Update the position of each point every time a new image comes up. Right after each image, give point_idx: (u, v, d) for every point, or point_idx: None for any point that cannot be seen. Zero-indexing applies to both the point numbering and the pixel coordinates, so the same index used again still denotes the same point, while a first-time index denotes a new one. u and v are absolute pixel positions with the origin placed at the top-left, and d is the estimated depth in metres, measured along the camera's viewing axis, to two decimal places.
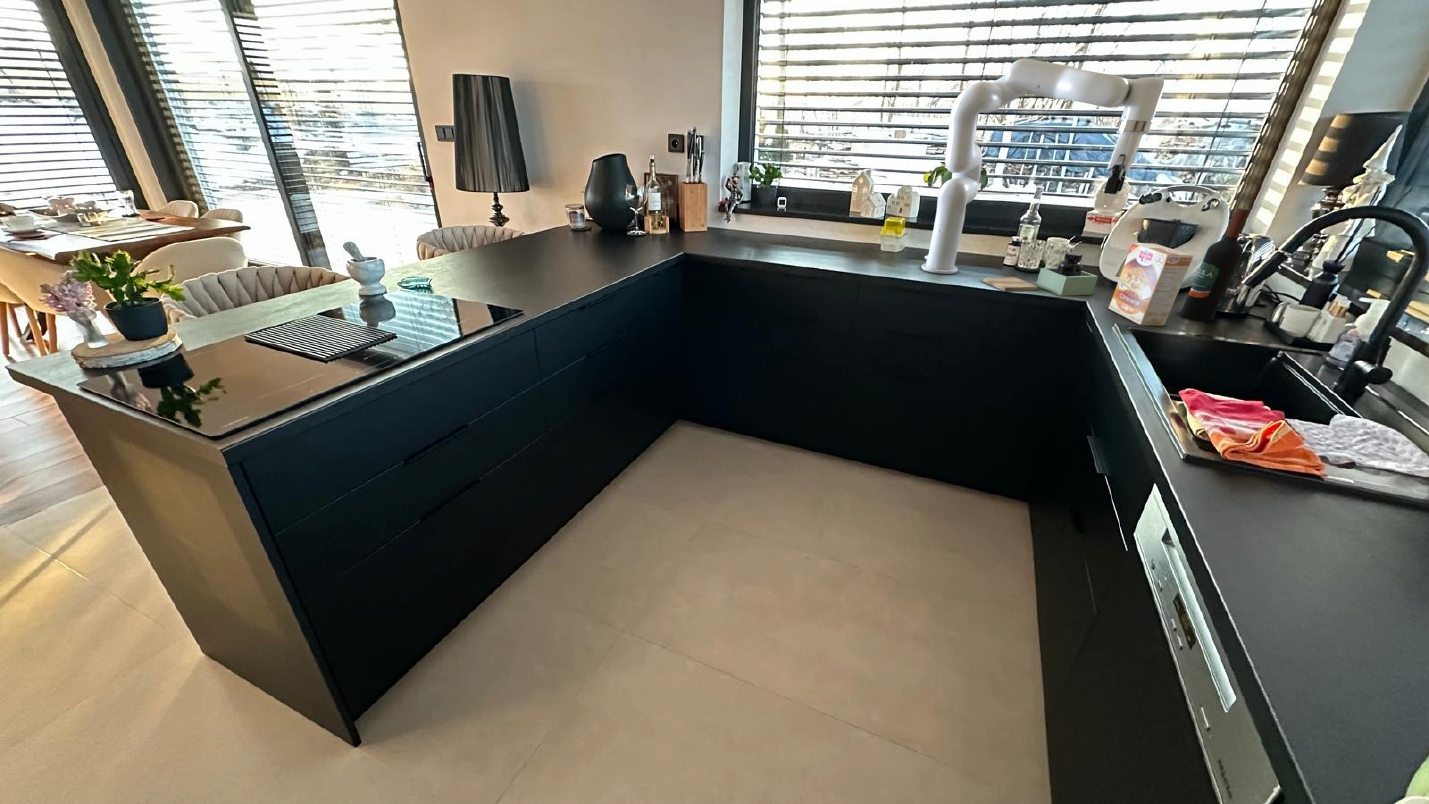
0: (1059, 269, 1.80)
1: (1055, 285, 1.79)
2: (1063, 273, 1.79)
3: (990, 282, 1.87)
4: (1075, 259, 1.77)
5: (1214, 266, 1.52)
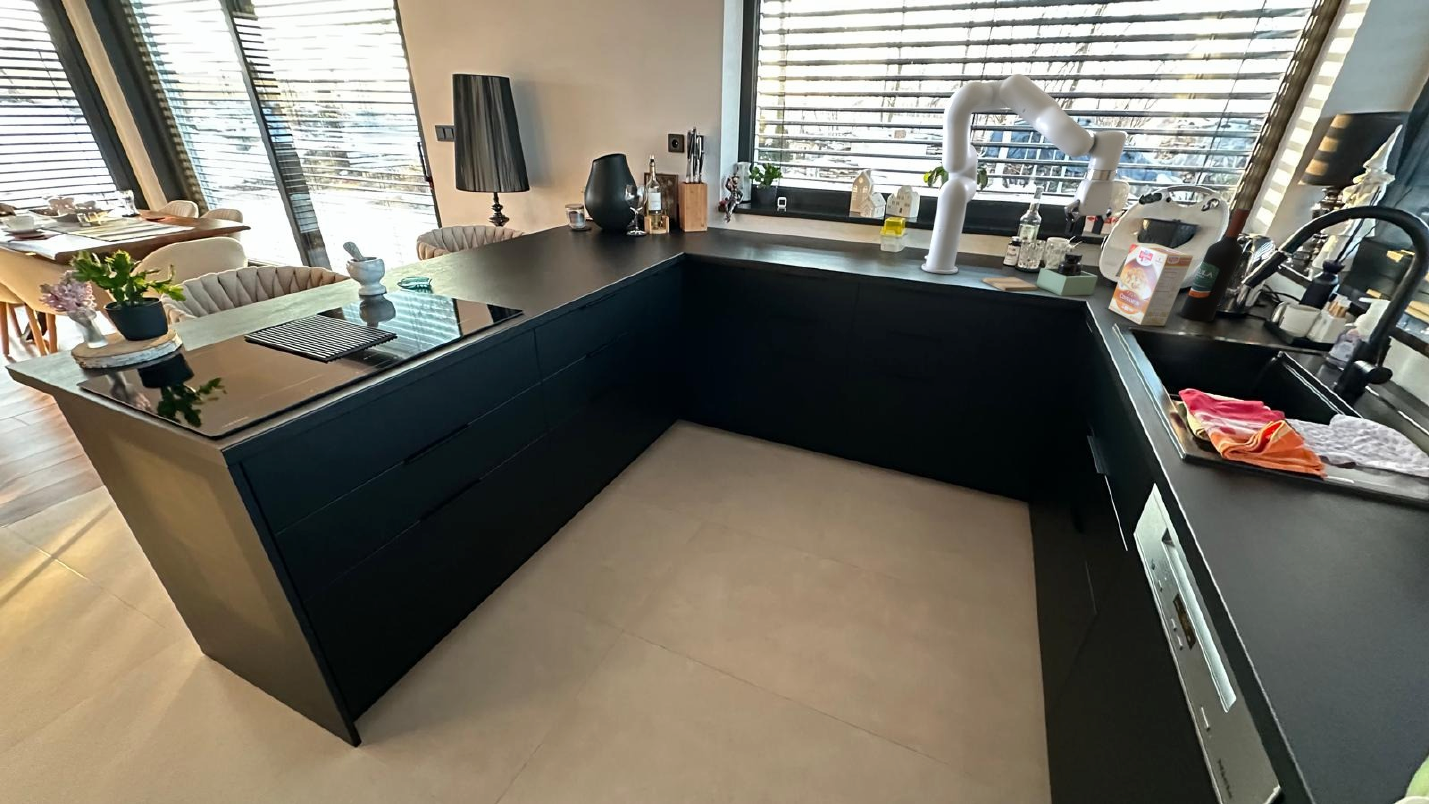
0: (1059, 269, 1.80)
1: (1055, 285, 1.79)
2: (1063, 273, 1.79)
3: (990, 282, 1.87)
4: (1075, 259, 1.77)
5: (1214, 266, 1.52)
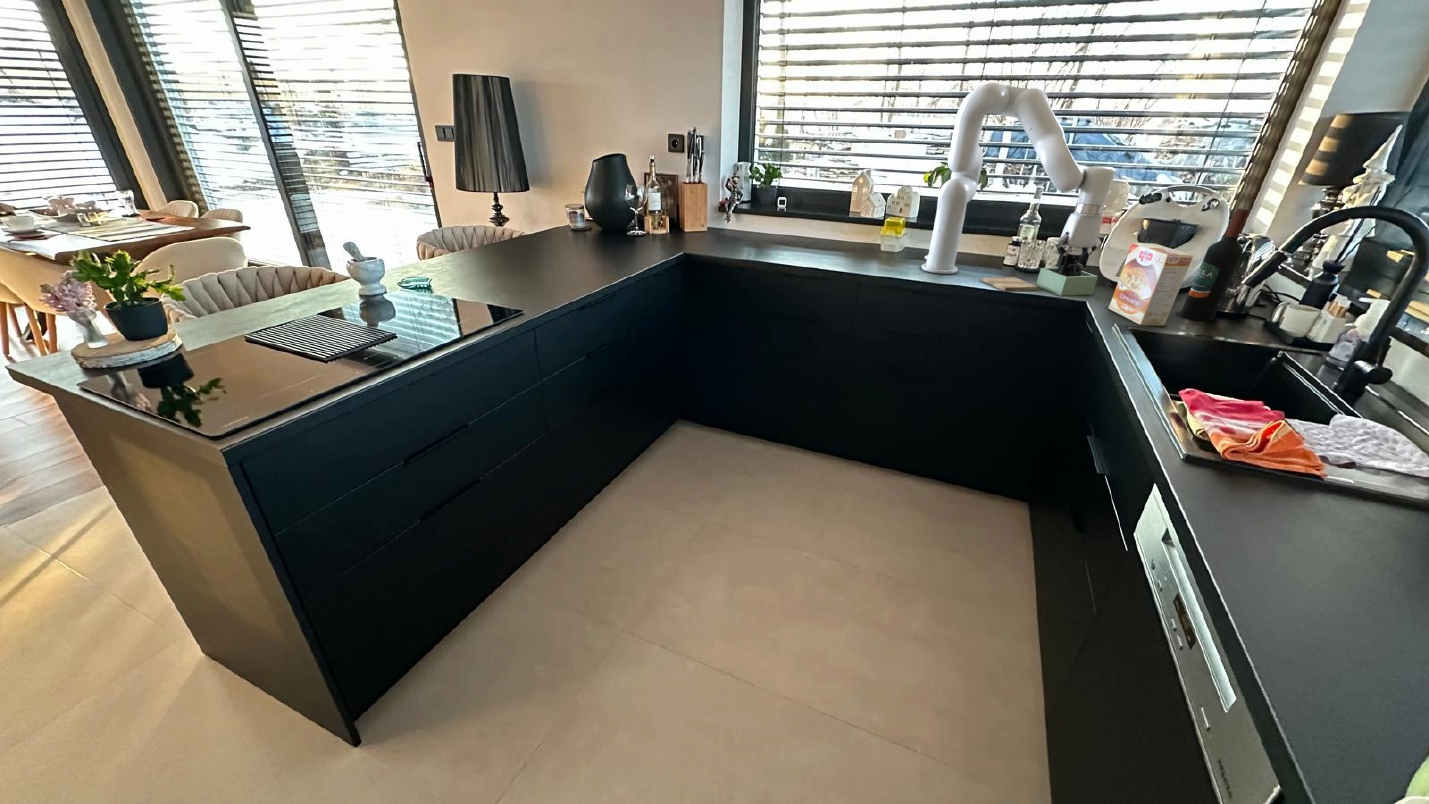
0: (1059, 269, 1.80)
1: (1055, 285, 1.79)
2: (1063, 273, 1.79)
3: (990, 282, 1.87)
4: (1076, 259, 1.77)
5: (1214, 266, 1.52)
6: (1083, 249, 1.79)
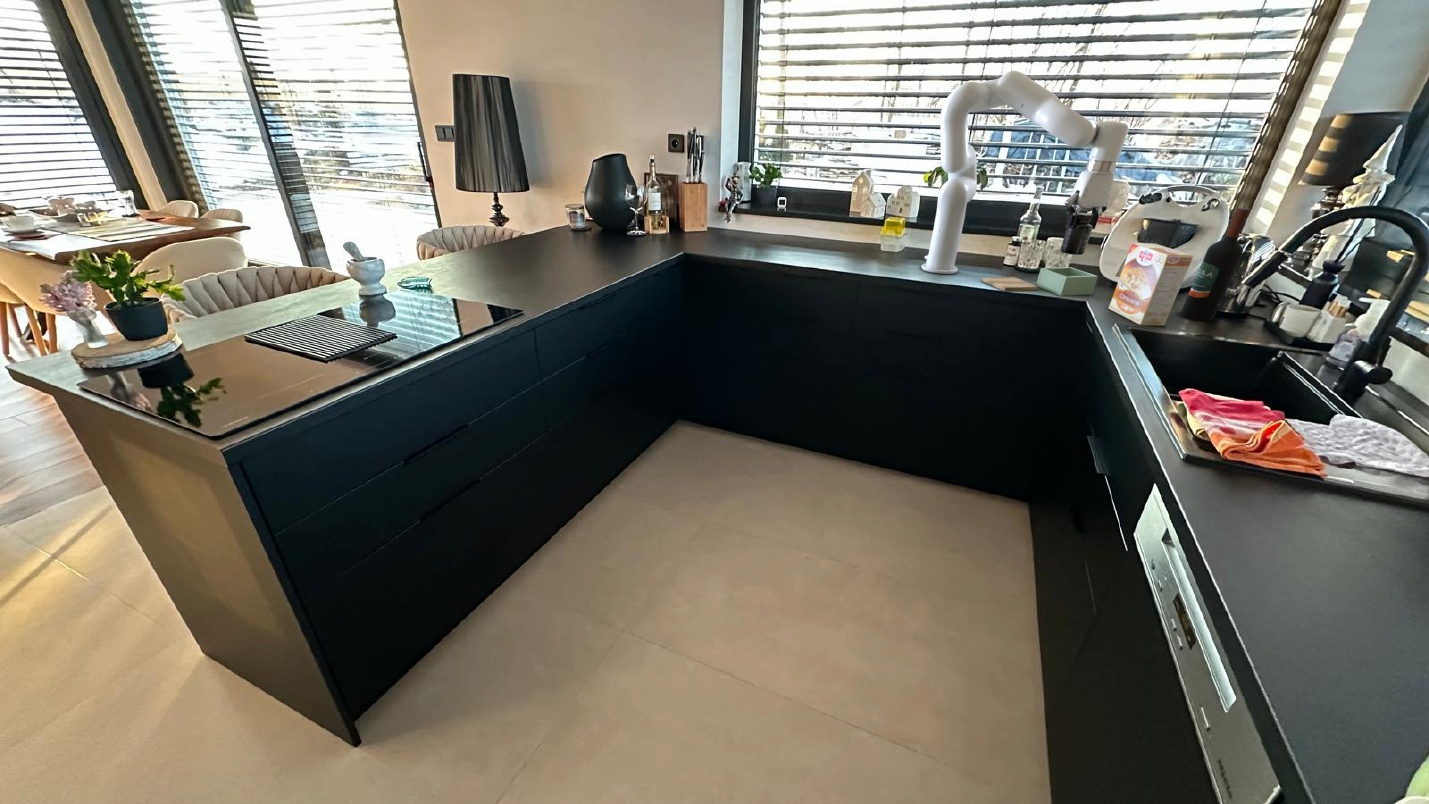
0: (1068, 230, 1.75)
1: (1055, 285, 1.79)
2: (1072, 234, 1.74)
3: (990, 282, 1.87)
4: (1085, 220, 1.71)
5: (1214, 266, 1.52)
6: (1093, 210, 1.74)
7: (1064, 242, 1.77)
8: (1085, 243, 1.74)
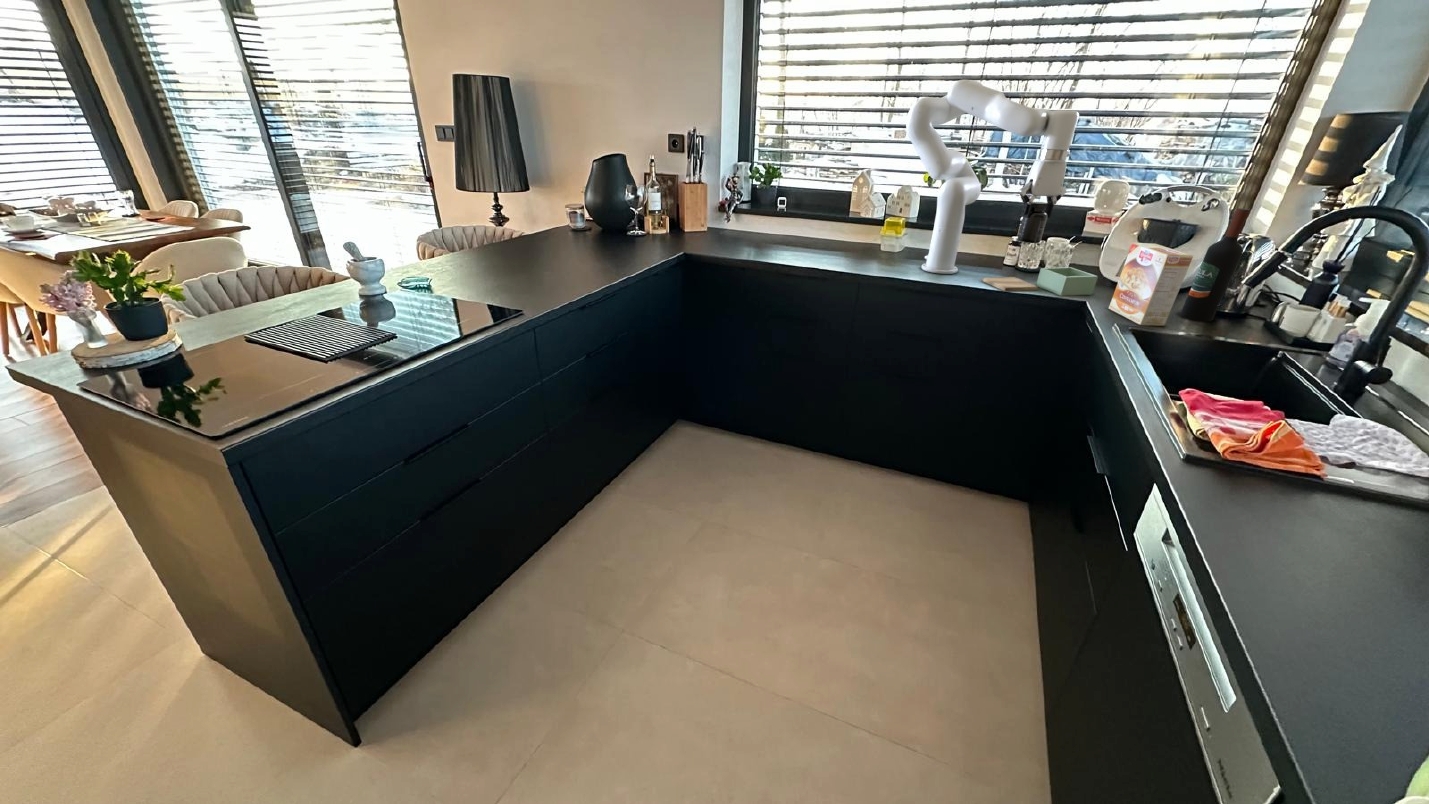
0: (1024, 219, 1.77)
1: (1055, 285, 1.79)
2: (1028, 223, 1.76)
3: (990, 282, 1.87)
4: (1040, 208, 1.73)
5: (1214, 266, 1.52)
6: (1048, 198, 1.75)
7: (1020, 231, 1.78)
8: (1041, 231, 1.76)
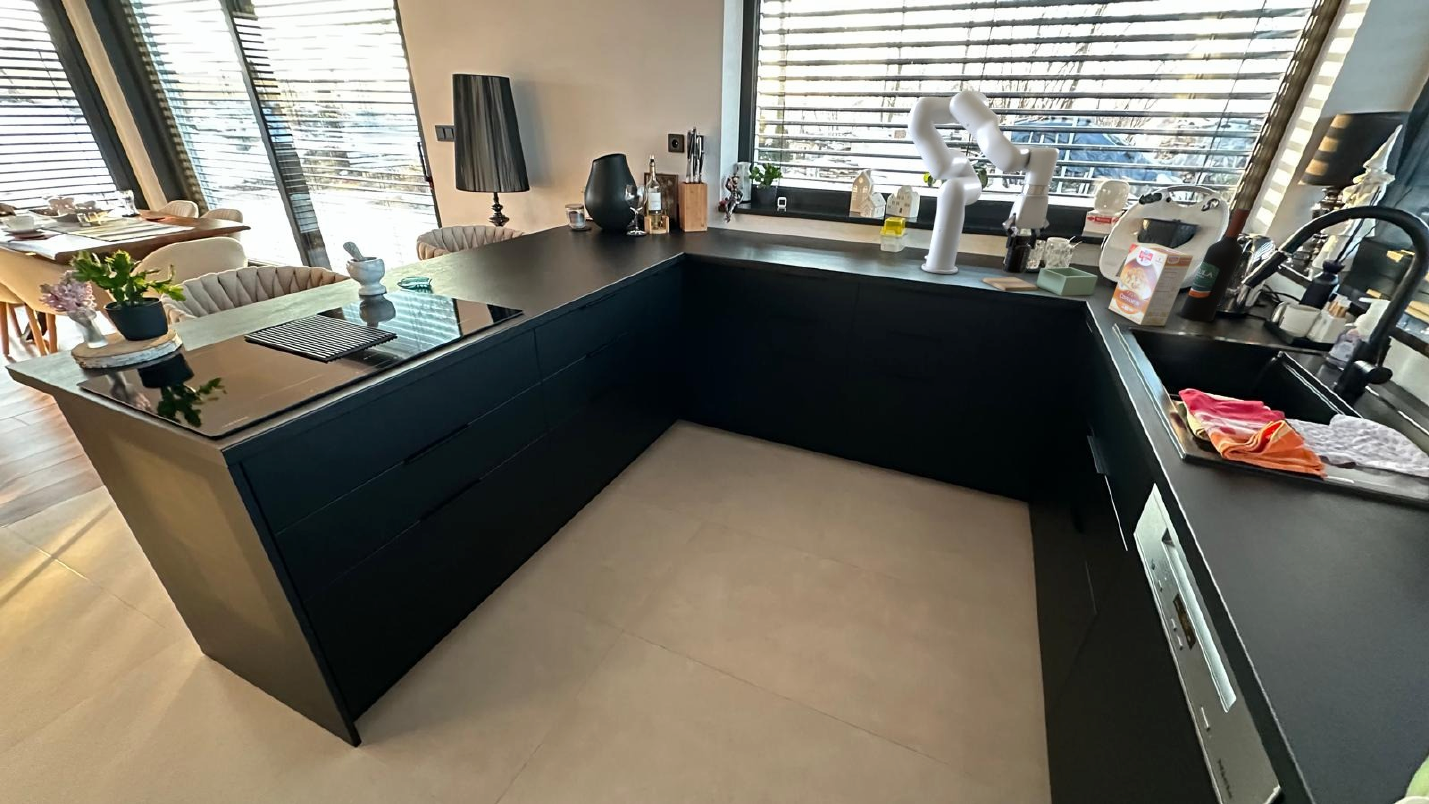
0: (1008, 250, 1.82)
1: (1055, 285, 1.79)
2: (1012, 254, 1.80)
3: (990, 282, 1.87)
4: (1024, 240, 1.78)
5: (1214, 266, 1.52)
6: (1032, 230, 1.80)
7: (1006, 262, 1.83)
8: (1025, 262, 1.81)
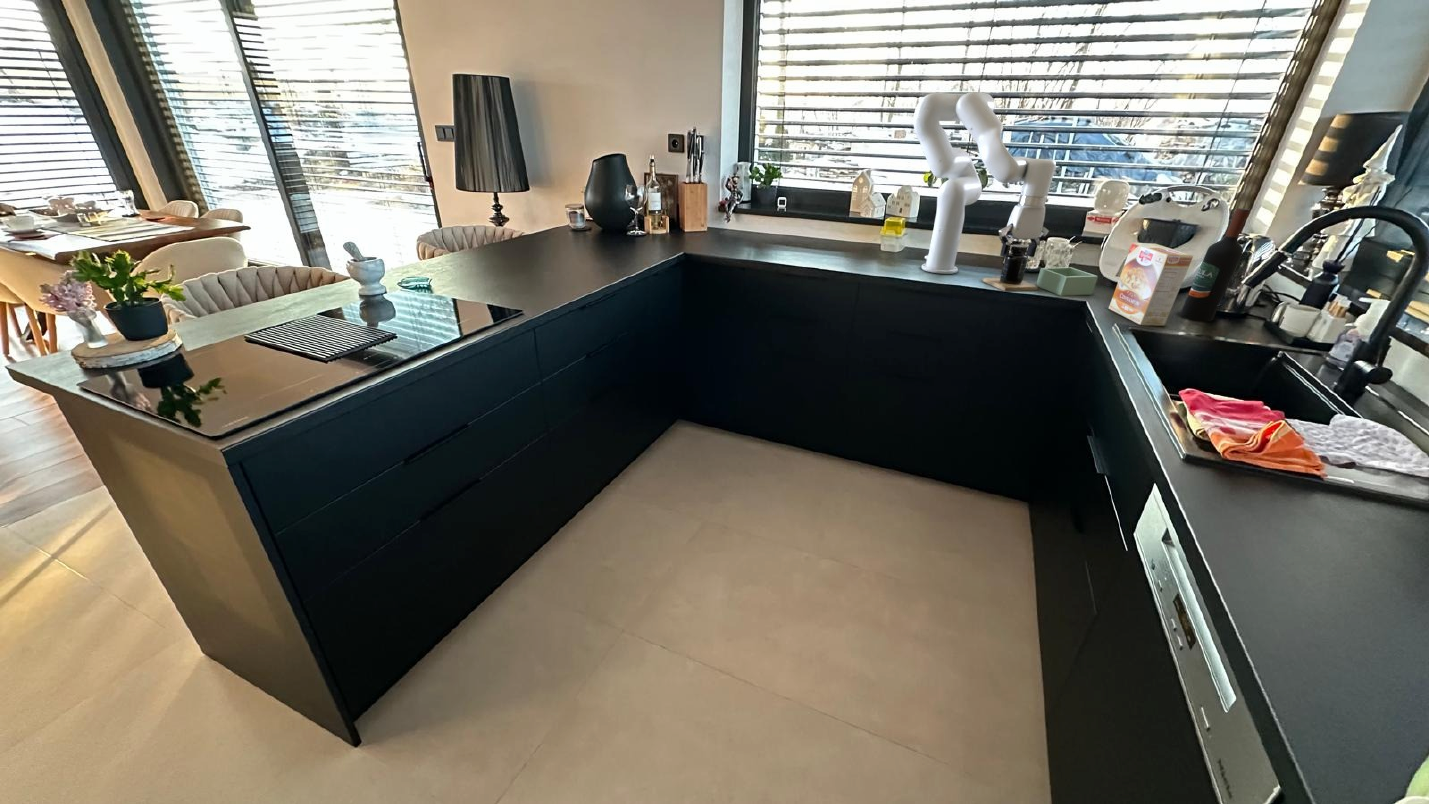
0: (1005, 261, 1.83)
1: (1055, 285, 1.79)
2: (1009, 265, 1.82)
3: (990, 282, 1.87)
4: (1020, 252, 1.80)
5: (1214, 266, 1.52)
6: (1031, 239, 1.82)
7: (1002, 272, 1.85)
8: (1022, 273, 1.82)
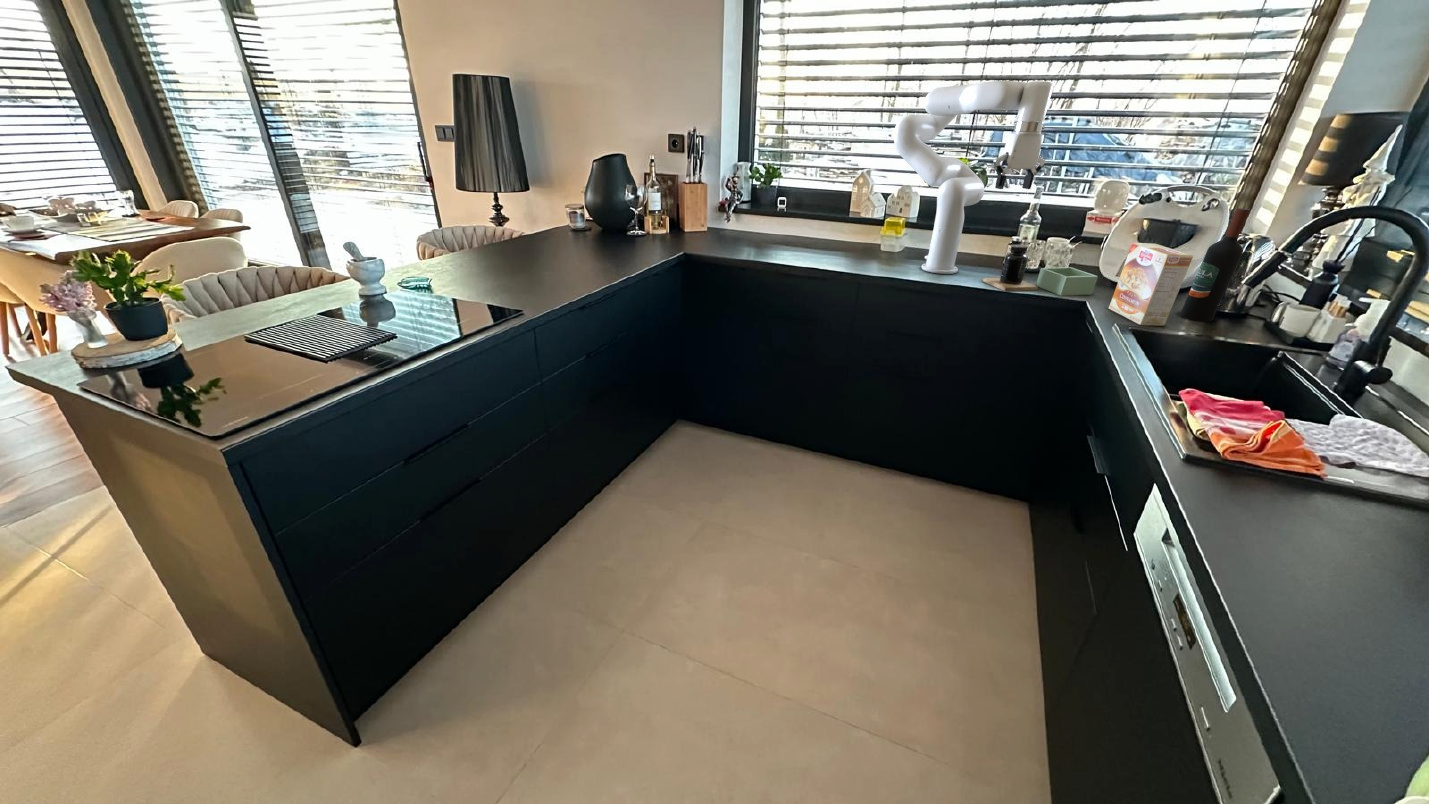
0: (1005, 261, 1.83)
1: (1055, 285, 1.79)
2: (1009, 265, 1.82)
3: (990, 282, 1.87)
4: (1020, 252, 1.80)
5: (1214, 266, 1.52)
6: (1028, 170, 1.75)
7: (1002, 272, 1.85)
8: (1022, 273, 1.82)
